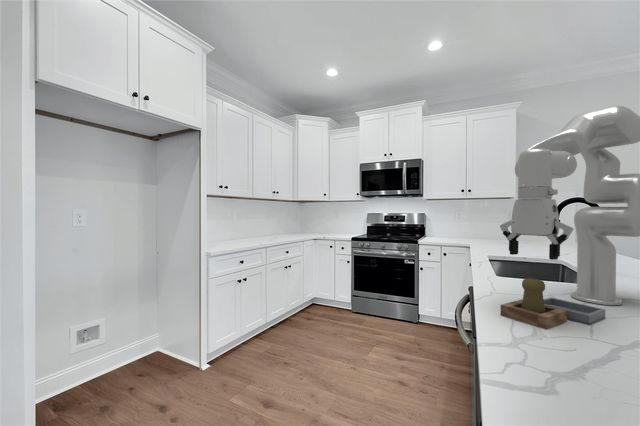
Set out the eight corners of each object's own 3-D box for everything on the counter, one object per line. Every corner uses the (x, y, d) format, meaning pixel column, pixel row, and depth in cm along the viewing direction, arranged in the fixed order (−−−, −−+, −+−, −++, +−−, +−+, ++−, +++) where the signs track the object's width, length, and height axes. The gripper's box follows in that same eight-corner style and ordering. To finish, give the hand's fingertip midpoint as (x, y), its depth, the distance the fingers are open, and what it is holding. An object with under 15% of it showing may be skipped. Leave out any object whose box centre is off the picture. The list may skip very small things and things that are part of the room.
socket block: (521, 309, 87) (521, 299, 87) (567, 321, 78) (567, 310, 78) (500, 315, 82) (500, 304, 82) (546, 329, 72) (546, 317, 72)
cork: (551, 323, 76) (552, 282, 76) (526, 321, 78) (526, 280, 77) (539, 315, 82) (539, 277, 82) (515, 313, 83) (516, 275, 83)
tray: (550, 305, 92) (550, 297, 92) (605, 318, 80) (605, 309, 80) (533, 310, 87) (533, 302, 87) (589, 325, 75) (589, 315, 75)
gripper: (579, 194, 74) (578, 260, 74) (508, 196, 89) (507, 252, 89) (566, 192, 70) (564, 262, 70) (494, 195, 85) (493, 253, 85)
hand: (532, 256), depth 80 cm, fingers open, 9 cm apart
